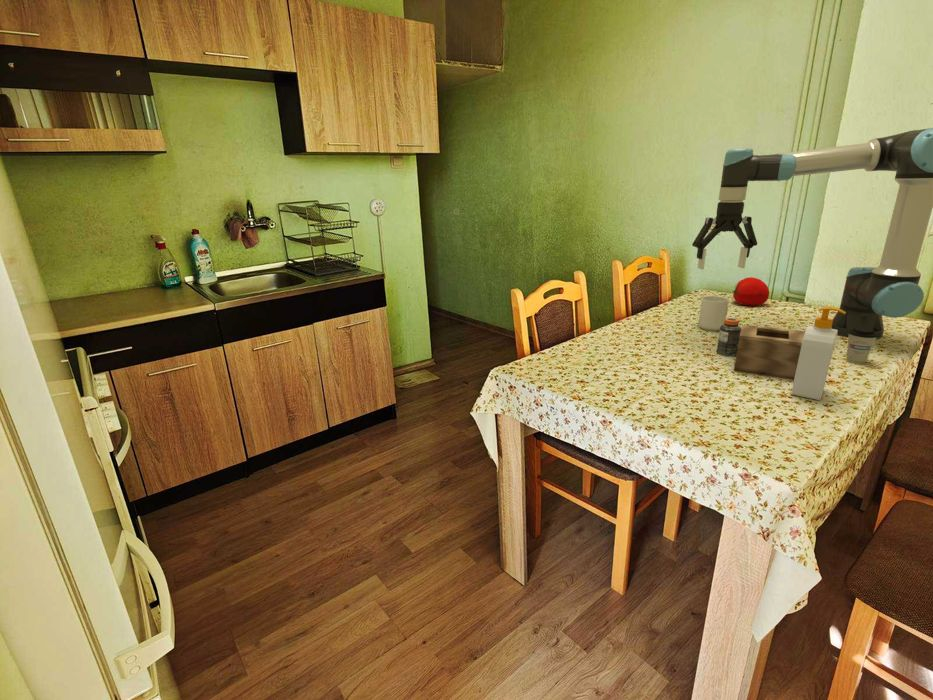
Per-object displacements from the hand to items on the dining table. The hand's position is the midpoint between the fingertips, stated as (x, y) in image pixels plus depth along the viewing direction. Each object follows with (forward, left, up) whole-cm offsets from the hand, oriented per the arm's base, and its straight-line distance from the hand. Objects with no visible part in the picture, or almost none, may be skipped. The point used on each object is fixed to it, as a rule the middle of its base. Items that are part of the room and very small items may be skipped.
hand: (720, 268), depth 160 cm
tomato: (-9, -56, -25) cm, 62 cm away
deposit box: (-17, +22, -25) cm, 37 cm away
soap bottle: (-27, +36, -25) cm, 52 cm away
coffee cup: (-40, +4, -25) cm, 47 cm away
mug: (+1, -15, -25) cm, 29 cm away
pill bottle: (-6, +13, -25) cm, 29 cm away
